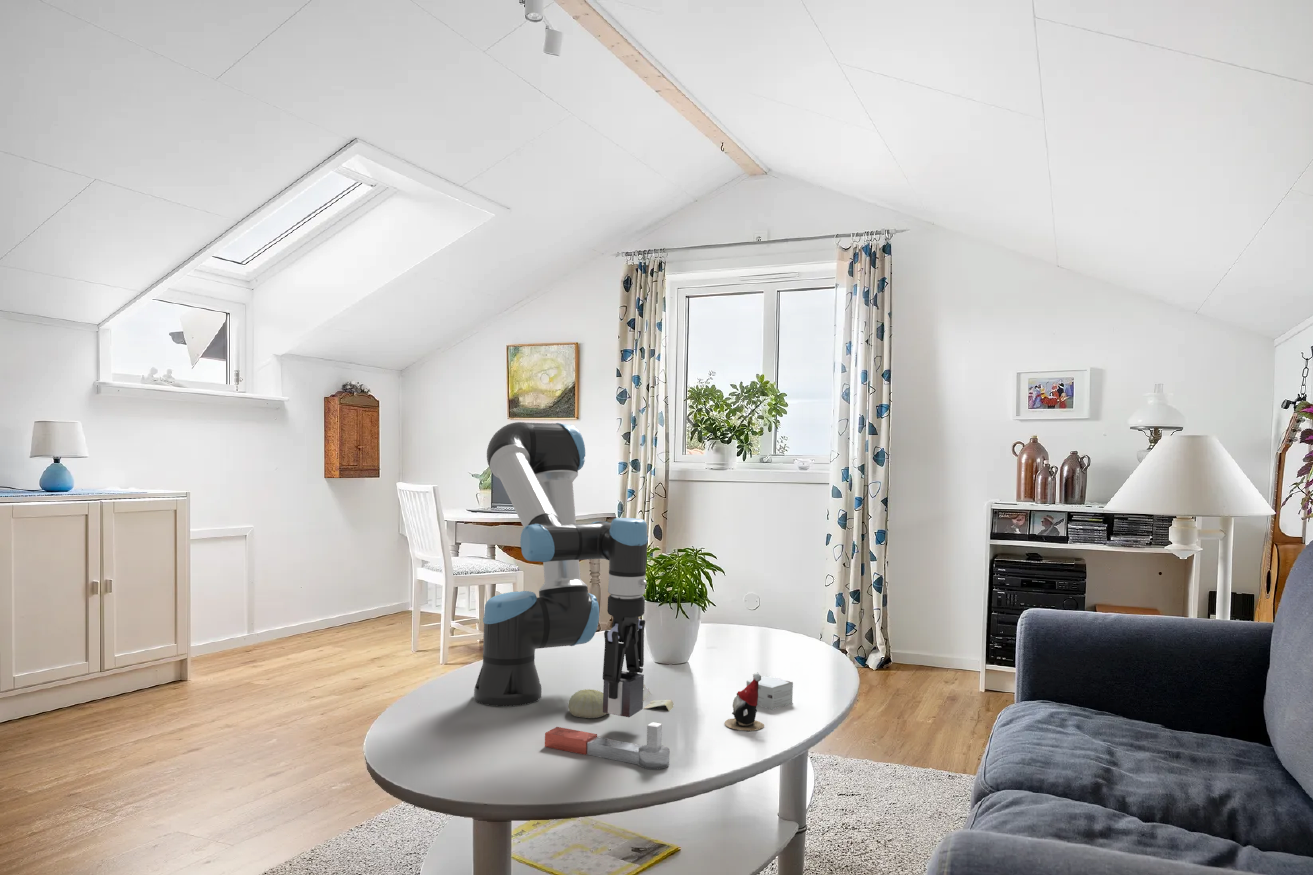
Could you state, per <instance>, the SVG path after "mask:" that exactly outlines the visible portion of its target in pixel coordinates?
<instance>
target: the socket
mask: <svg viewBox="0 0 1313 875" xmlns="http://www.w3.org/2000/svg"><path fill="white" fill-rule="evenodd" d="M644 676H645V675H644V674H642V673H638V674H636V673H630V672H629V671H623V670H622V673H621V679H620V681H621V682H623V684H622V711H621V715H618V717H619V716H620V717H625V718H631V717H632V716H634V715H636V714H637V713H638V712H640V711H642V710H644V701H643V690H644V688H643V685H645V684H644V681H645V680H644ZM602 691H603V692H602V693H603V713H607V715H608V714H609V715H611V714H610V713H608V691H609V682H608V681H605V680H603V690H602ZM614 715H615V714H613V716H614ZM615 716H616V715H615Z"/></svg>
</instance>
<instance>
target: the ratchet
mask: <svg viewBox="0 0 1313 875" xmlns="http://www.w3.org/2000/svg"><path fill="white" fill-rule="evenodd" d="M662 731H663V723H657V722H650V723H648V724H647V726H646V744H645V745H643V744H642V745H641V744H636V743H631V742H627V741H622V740H621V741H620V740H616V739H610V738H605V737H600V736H598V733H592V732H587V731H582V730H577V729H572V728H566V727H560V726H556V727H555V726H554V728H552V729H550V730H548V731H546V732H545V733H544V748H549V749H555V750H559V751H564V752H570V753H575V754H580V755H584V756H586V755H587V756H594V757H598V758H603V759H608V760H613V761H619V762H621V763H622V762H624V763H626V764H627V763H628V764H633V765H638V766H639V767H641V768H643V769H647V770H663V769H665V768H668V767H669V766H670V748H669V747H668V746H665V745H662V742H663V741H662V740H663V739H662V736H663V732H662Z"/></svg>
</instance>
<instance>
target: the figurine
mask: <svg viewBox="0 0 1313 875" xmlns="http://www.w3.org/2000/svg"><path fill="white" fill-rule="evenodd" d="M761 677H762V675H761V674H760V673H759V672H755V673H753V674H752V679H753V681H752V682H751V683H750V684H749V685H748V686H747V685H746V686H745V687H744V688H743V689H742V690H739V691H737V692H736V696H735V697H734V699H733V701H732V713H731V715H732V716H733V717H734V718H728V719H727V720H725V721H724V726H725V727H727V728H728V729H732V730H734V731H746V732H751V731H758V730H762V729H764V728H765V724H764V723H763V722H761V721H758V720H756V716H757V712H758V710H757V708H758V705H757V702H758V687H759V684H758V682H759V681H760V680H761Z"/></svg>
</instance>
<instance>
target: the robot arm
mask: <svg viewBox="0 0 1313 875" xmlns="http://www.w3.org/2000/svg"><path fill="white" fill-rule="evenodd" d="M486 448H487V450H486V462H487V465H488V468H489V469H490V471H491V473H492V474H493V476H494V477H496V478H497V479H499V480H500V481H501V483H502V486H503V488H504V490H505V493H506V495H507V496H508V498H509V500H510V502H511V504H512V507H513V508H514V511H515V513H516V514H517V517H518V518H519V521H520V523H521V525H522V527H523V529H522V531H521V534H520V541H519V542H520V543H519V544H520V548H521V554H522V556H523V558H524V559H525V560H526V561H527V562H528V561H529V562H541V563H543V578H544V579H543V580H544V583H543V584H542V585H541V587H540V588H539V589H538V596H537V595H536V593H535V592H534V591H529V590H528V591H527V590H522V591H510V592H505V593H501V594H497V595H494V596H492V597H491V598H489V599H488V600H487V601H486V603H485V604H484V614H483V618H482V623H483V640H482V641H483V642H482V644H483V647H482V649H483V650H482V666H481V668H480V670H479V675H478V677H477V679H476V682H475V683H476V684H475V685H474V689H473V691H474V693H473V699H474V701H475V702H476V703H479V704H481V705H486V706H490V707H504V708H506V707H518V706H525V705H529V704H533V703H536V702H537V701H539V700H540V699H541V698H542V684H541V682H540V677H539V675H538V670H537V667H536V662H535V658H536V656H535V655H536V652H535V651H536V649H546V648H548V649H549V648H556V647H557V648H559V647H560V648H561V647H574V646H576V645H584V644H586V643H589V642H590V641H591V640H592V639H593V638H594V636H595V634H596V632H597V629H598V625H599V620H600V605H599V602H598V598H597V597H596V595H594V594H592V593H590V592H589V588H588V584H587V583H585V582H584V581H583V580H582V579H581V568H580V561H582V560H584V561H585V560H607V561H608V567H609V568H608V585H607V587H608V588H607V592H608V594H609V596H608V597H607V609H606V610H607V613H608V615H610V616H611V617H612V618H613V619H612V624H611V629H610V630H609V629H608V630H607V629H606V630H604V633H603V637H604V652H603V665H602V666H603V669H602V680H603V681H604V680H605V681H608V682H609V691H608V713H610V714H609V715H614V714H615V716H619V715H621V711H622V684H623V682H621V681H620V679H621V673H622V671H623V666H624V663H625V665H626V672H630V673H636V674H642V673H643V671H644V668H643V667H644V664H645V663H644V662H645V661H644V660H645V658H644V656H645V652H644V651H645V650H644V649H645V645H644V644H645V628H646V620H645V619H640V617H642V616H644V614H645V611H646V610H645V609H646V608H645V606H646V604H645V603H646V599H645V596H644V594H645V593H646V586H647V584H648V583H647V580H646V572H647V557H648V556H647V553H648V541H649V537H648V524H647V522H646V521H645V520H644V519H643V518H635V517H617V518H616V517H615V518H612V520H611V522H610V521H600V520H599V521H597V520H596V521H593V522H591V523H577V521H576V508H575V498H574V497H575V496H574V484H573V482H574V481H575V480H576V478H578V476H579V470H582V468H583V467H584V464H585V461H586V459H585V457H586V446H585V441H584V438H583V436H582V434H581V431H580V430H579V429H578V428H577V427H575V425H572V424H566V423H565V424H564V423H560V422H556V423H553V422H552V423H548V422H525V421H524V422H523V421H517V422H512V423H509V424H506V425H503V426H502V427H501V428H499V430H497V431H496V432H495V433H494V434H493V436H492V438H491V439H490V441H489V443H488V446H487V447H486ZM624 660H625V662H624ZM608 713H607V714H608Z"/></svg>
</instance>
